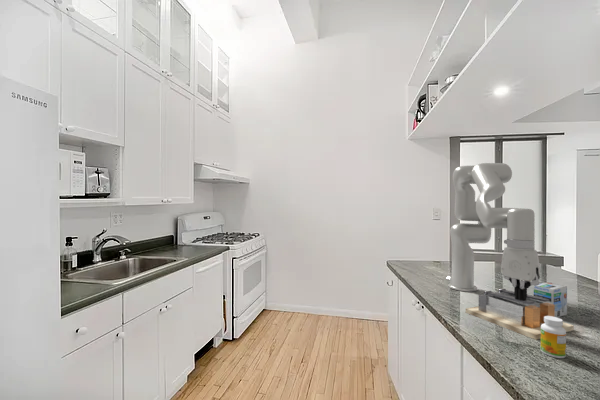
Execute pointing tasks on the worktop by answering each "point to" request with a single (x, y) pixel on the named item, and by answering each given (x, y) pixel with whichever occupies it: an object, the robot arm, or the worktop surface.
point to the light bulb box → (553, 296)
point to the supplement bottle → (553, 337)
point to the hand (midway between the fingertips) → (520, 299)
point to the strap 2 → (527, 295)
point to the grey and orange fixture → (516, 310)
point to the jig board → (513, 324)
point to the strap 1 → (507, 297)
